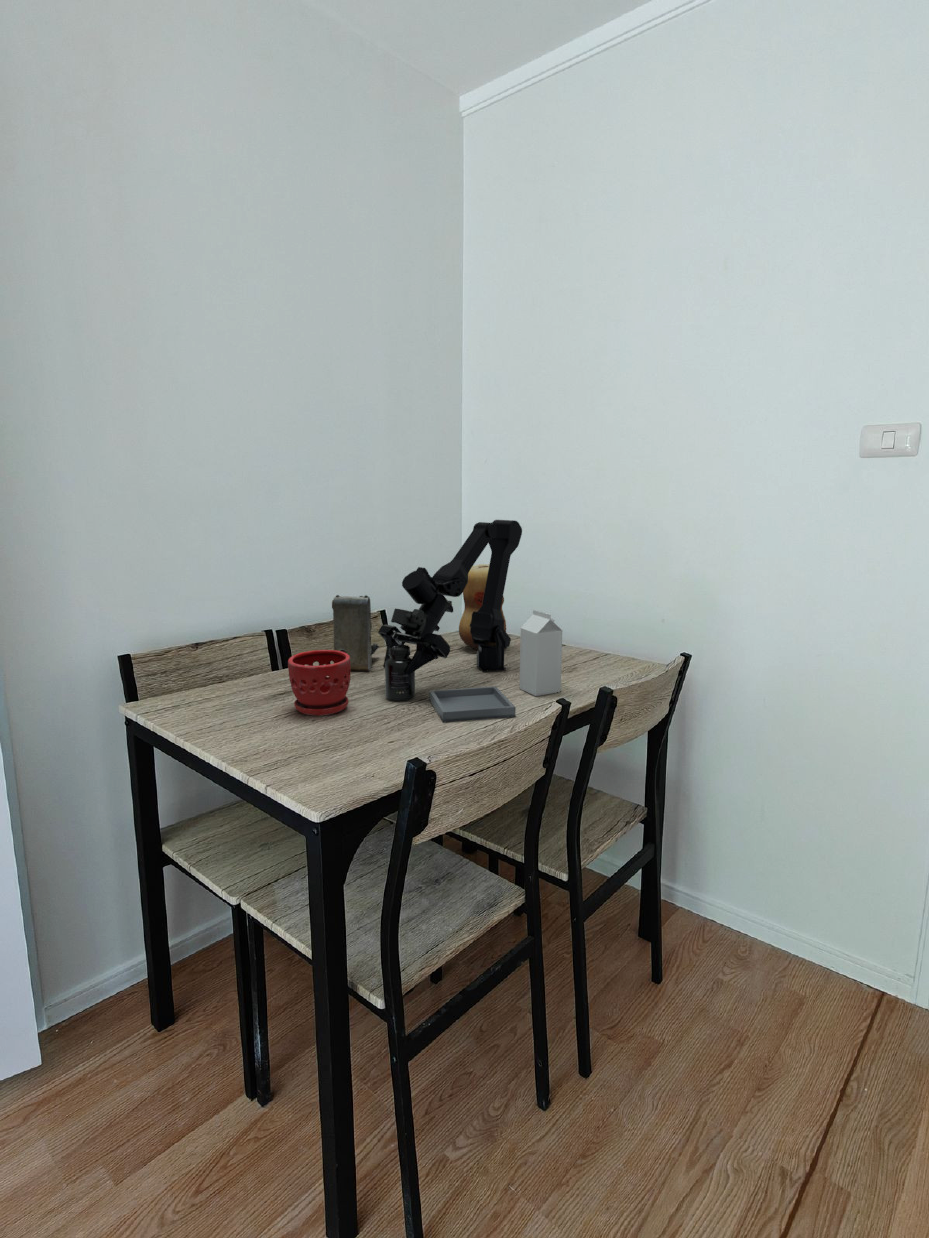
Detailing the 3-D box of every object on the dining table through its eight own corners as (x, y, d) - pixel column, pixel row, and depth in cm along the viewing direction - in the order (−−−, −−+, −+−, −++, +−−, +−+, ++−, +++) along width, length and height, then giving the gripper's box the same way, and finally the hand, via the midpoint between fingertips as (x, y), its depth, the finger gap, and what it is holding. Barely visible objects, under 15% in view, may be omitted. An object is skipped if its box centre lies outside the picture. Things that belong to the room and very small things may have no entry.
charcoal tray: (495, 695, 167) (495, 686, 166) (515, 716, 152) (515, 706, 151) (429, 699, 163) (429, 690, 163) (442, 722, 148) (442, 712, 148)
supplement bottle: (385, 693, 168) (384, 643, 166) (415, 692, 169) (414, 643, 166) (385, 702, 161) (384, 650, 159) (415, 701, 162) (414, 650, 160)
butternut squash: (458, 655, 204) (458, 567, 199) (458, 644, 217) (458, 562, 212) (507, 655, 204) (508, 567, 199) (504, 644, 217) (505, 562, 213)
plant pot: (286, 704, 160) (283, 652, 157) (344, 698, 165) (342, 647, 162) (295, 723, 148) (292, 666, 146) (358, 715, 153) (356, 660, 150)
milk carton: (535, 697, 166) (537, 616, 162) (519, 689, 172) (520, 611, 168) (560, 692, 169) (563, 613, 165) (544, 685, 175) (545, 608, 171)
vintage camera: (382, 659, 201) (380, 588, 198) (370, 672, 186) (367, 596, 183) (348, 659, 202) (346, 588, 199) (333, 671, 187) (330, 596, 184)
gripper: (382, 590, 169) (348, 644, 163) (441, 599, 157) (406, 657, 151) (407, 618, 177) (374, 671, 171) (464, 629, 165) (432, 685, 159)
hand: (395, 670), depth 163 cm, fingers closed on supplement bottle, 7 cm apart
